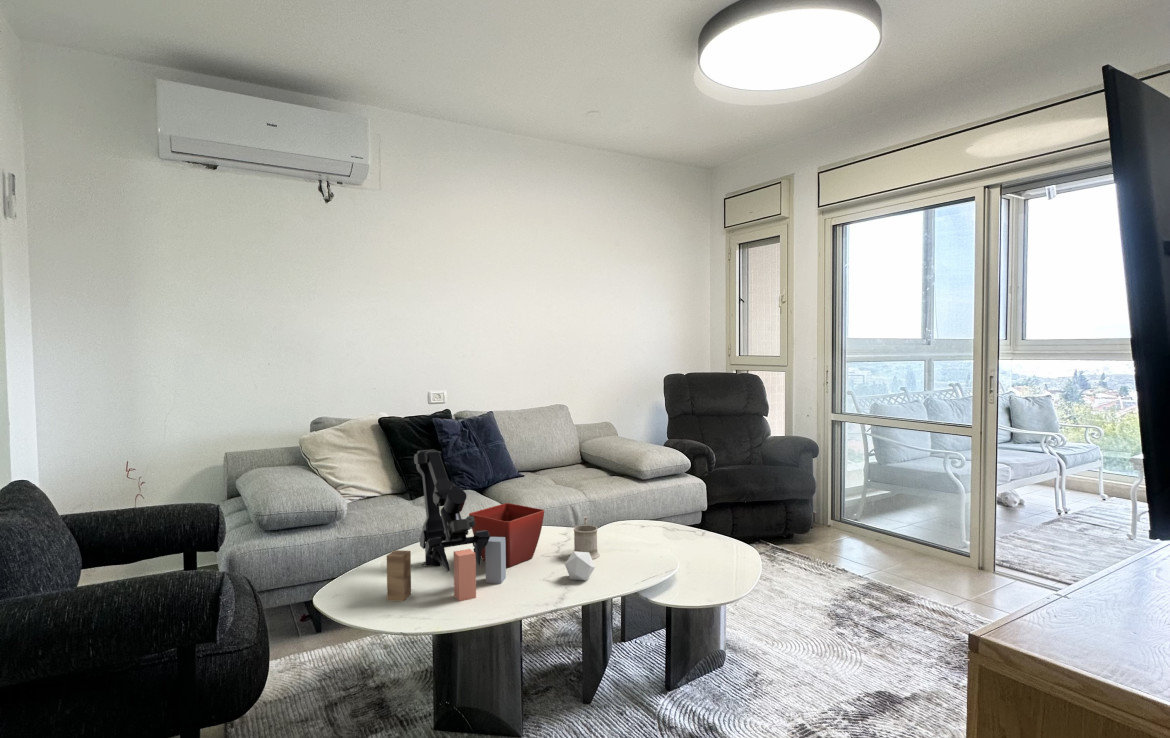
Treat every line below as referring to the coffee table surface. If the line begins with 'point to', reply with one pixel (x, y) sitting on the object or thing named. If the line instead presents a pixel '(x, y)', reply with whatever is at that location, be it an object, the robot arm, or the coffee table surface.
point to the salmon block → (464, 574)
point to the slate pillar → (495, 560)
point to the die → (580, 565)
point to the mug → (586, 539)
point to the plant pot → (511, 529)
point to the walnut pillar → (398, 575)
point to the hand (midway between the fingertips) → (464, 568)
